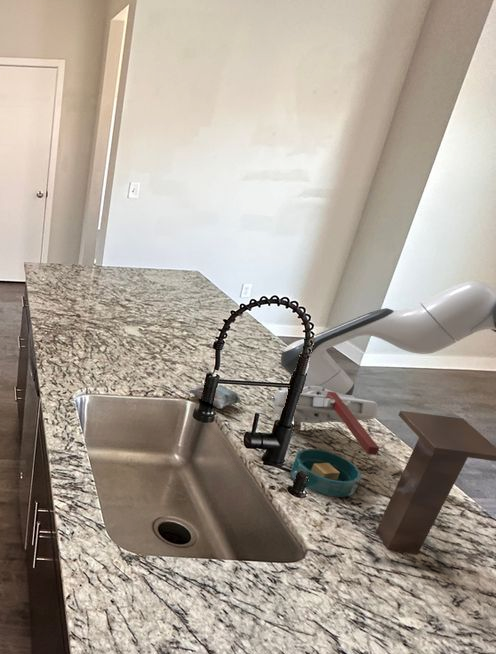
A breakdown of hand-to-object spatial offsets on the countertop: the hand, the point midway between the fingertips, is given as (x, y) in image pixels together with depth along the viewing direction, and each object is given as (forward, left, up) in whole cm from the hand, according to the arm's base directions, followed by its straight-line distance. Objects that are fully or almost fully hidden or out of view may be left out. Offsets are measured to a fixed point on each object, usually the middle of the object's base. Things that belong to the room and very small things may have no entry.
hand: (339, 403), depth 115 cm
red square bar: (0, +6, -1) cm, 6 cm away
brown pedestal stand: (-7, +22, -18) cm, 29 cm away
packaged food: (+18, -28, -18) cm, 38 cm away
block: (0, +4, -17) cm, 18 cm away
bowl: (0, +4, -18) cm, 18 cm away
